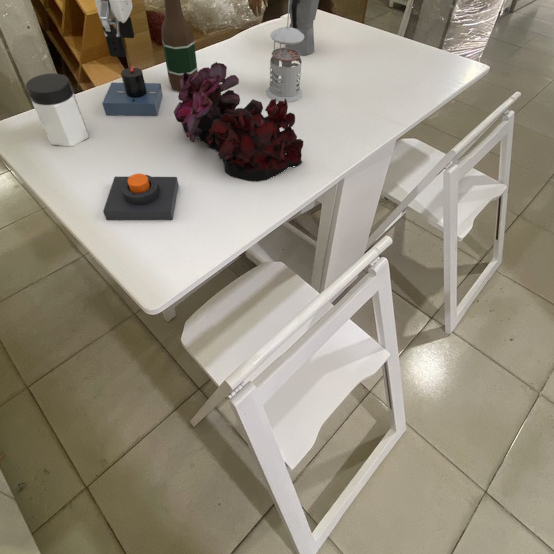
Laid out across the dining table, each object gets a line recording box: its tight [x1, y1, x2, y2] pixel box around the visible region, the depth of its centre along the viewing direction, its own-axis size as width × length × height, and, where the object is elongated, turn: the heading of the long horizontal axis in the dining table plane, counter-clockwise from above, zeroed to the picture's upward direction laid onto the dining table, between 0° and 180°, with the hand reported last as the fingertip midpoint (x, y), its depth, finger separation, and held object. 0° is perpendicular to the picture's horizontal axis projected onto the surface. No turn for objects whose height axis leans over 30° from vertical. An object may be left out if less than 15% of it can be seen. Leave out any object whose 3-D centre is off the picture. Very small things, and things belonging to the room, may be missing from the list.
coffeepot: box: [287, 0, 320, 57], centre depth 114 cm, size 15×9×18 cm, turn 159°
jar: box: [25, 73, 90, 147], centre depth 84 cm, size 9×8×12 cm
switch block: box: [102, 174, 179, 221], centre depth 75 cm, size 12×10×4 cm
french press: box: [265, 0, 304, 103], centre depth 96 cm, size 10×12×25 cm
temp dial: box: [120, 65, 147, 98], centre depth 94 cm, size 5×5×5 cm
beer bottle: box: [160, 0, 199, 93], centre depth 96 cm, size 8×8×24 cm
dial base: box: [101, 82, 164, 117], centre depth 97 cm, size 12×10×3 cm
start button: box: [128, 173, 150, 193], centre depth 73 cm, size 4×4×2 cm
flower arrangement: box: [173, 61, 304, 182], centre depth 83 cm, size 31×20×15 cm, turn 50°
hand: (123, 46), depth 87 cm, fingers open, 9 cm apart
